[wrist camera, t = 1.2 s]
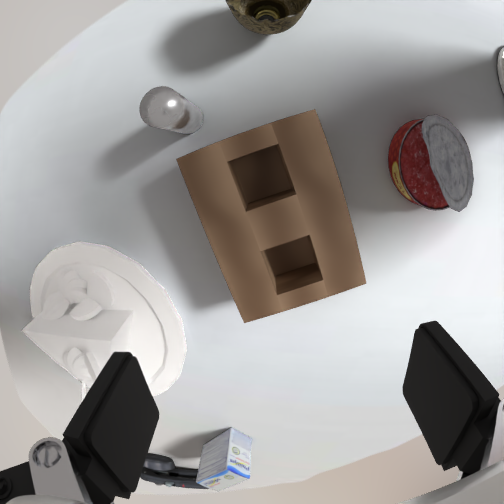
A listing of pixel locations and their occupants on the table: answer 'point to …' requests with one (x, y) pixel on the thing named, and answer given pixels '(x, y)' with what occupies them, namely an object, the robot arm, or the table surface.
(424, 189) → the canned food
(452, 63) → the table surface
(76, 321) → the dish
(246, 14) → the cup
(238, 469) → the medicine box
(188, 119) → the pin
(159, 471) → the can opener
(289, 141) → the hole block
